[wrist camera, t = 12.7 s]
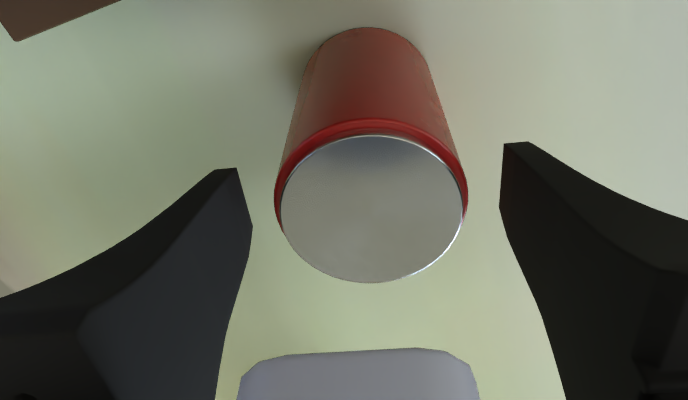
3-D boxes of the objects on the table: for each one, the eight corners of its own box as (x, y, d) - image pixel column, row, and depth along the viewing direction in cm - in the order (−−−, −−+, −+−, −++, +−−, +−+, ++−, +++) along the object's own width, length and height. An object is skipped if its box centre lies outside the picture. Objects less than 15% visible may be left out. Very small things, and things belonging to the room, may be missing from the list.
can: (275, 76, 19) (229, 194, 12) (387, -3, 17) (405, 84, 10) (349, 170, 21) (345, 313, 14) (455, 109, 19) (505, 238, 13)
